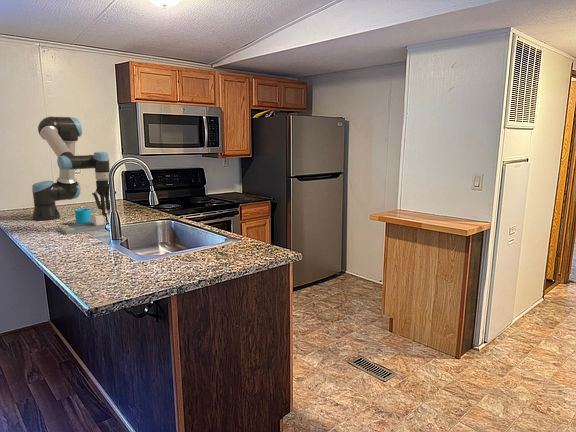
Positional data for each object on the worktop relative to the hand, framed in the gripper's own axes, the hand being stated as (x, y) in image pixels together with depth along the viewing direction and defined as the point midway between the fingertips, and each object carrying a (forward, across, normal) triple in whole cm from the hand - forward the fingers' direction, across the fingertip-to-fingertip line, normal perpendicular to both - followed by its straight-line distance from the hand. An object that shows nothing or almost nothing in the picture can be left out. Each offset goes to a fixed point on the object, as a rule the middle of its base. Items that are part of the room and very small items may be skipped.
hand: (106, 220), depth 232 cm
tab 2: (+2, -4, 0) cm, 5 cm away
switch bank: (+4, -9, +4) cm, 11 cm away
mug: (+4, -3, +22) cm, 23 cm away
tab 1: (+2, -4, +8) cm, 9 cm away
